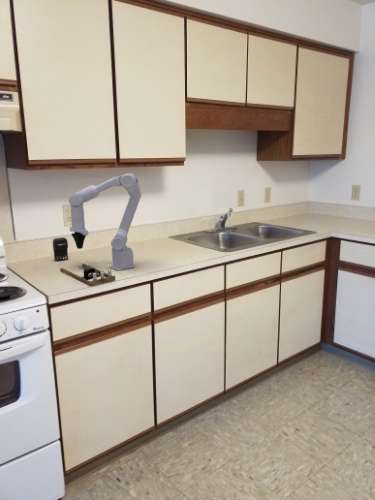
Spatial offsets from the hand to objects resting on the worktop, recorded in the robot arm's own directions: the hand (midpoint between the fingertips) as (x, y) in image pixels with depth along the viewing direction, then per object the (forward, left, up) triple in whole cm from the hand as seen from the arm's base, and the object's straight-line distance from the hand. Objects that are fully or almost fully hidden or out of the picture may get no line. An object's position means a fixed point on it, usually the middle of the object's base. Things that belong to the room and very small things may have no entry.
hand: (79, 248), depth 183 cm
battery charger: (+1, -19, -10) cm, 21 cm away
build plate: (+4, +16, -10) cm, 19 cm away
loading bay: (+4, +13, -9) cm, 16 cm away
